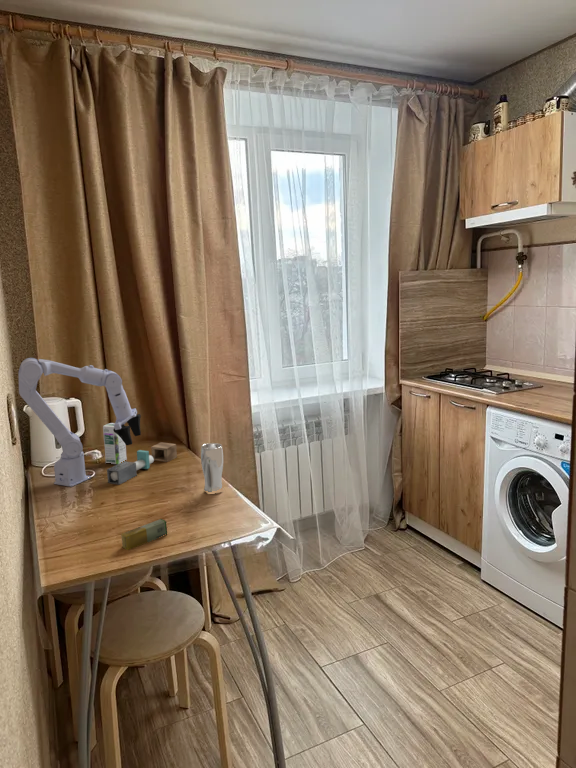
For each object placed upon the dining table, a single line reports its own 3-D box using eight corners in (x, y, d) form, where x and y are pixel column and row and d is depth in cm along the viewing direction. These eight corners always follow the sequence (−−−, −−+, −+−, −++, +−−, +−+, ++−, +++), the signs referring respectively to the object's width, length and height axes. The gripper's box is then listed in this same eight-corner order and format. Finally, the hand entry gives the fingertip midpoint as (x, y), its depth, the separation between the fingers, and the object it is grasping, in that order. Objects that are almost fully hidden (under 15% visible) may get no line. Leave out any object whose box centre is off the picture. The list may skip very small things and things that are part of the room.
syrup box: (105, 463, 204) (101, 425, 202) (114, 458, 210) (111, 422, 207) (118, 464, 203) (115, 426, 200) (127, 460, 208) (124, 422, 206)
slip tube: (119, 482, 183) (117, 465, 182) (109, 481, 184) (108, 463, 183) (155, 464, 200) (154, 448, 199) (146, 463, 202) (145, 447, 201)
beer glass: (198, 494, 173) (196, 448, 170) (208, 486, 179) (206, 442, 177) (219, 496, 171) (217, 449, 168) (228, 488, 177) (226, 443, 175)
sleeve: (119, 484, 182) (118, 470, 182) (108, 482, 184) (106, 469, 183) (136, 475, 190) (135, 462, 190) (125, 474, 192) (124, 461, 192)
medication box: (162, 532, 147) (161, 518, 147) (168, 535, 145) (167, 520, 145) (121, 548, 139) (120, 533, 138) (127, 551, 137) (125, 536, 136)
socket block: (167, 461, 205) (166, 448, 204) (152, 459, 208) (151, 446, 207) (176, 457, 210) (176, 444, 209) (161, 455, 213) (160, 442, 212)
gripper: (122, 410, 183) (135, 446, 186) (139, 395, 196) (151, 429, 200) (103, 414, 184) (117, 450, 188) (121, 399, 198) (134, 433, 202)
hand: (133, 439), depth 194 cm, fingers open, 7 cm apart
